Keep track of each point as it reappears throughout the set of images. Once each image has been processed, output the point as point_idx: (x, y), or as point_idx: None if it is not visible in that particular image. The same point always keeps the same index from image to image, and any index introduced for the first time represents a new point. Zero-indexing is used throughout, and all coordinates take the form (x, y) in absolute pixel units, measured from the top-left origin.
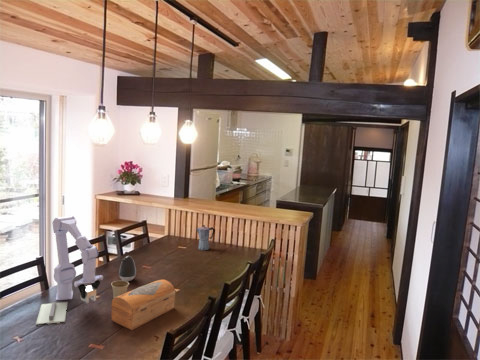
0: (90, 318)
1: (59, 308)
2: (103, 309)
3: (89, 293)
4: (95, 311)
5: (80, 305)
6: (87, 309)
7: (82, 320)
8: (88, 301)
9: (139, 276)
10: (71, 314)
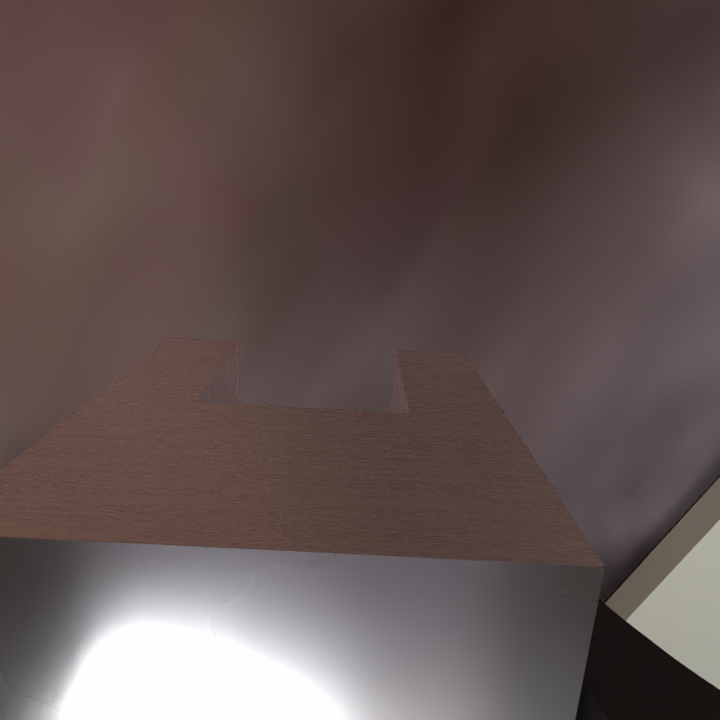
0: (527, 9)
1: None
2: (105, 176)
3: (414, 483)
4: (275, 218)
5: None
6: (340, 400)
7: (686, 58)
8: (414, 363)
9: None
10: (648, 428)
